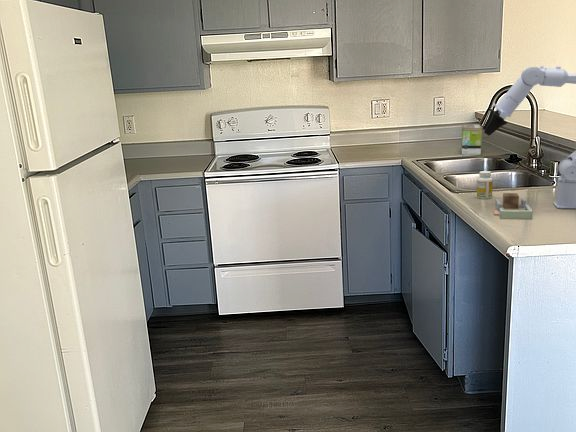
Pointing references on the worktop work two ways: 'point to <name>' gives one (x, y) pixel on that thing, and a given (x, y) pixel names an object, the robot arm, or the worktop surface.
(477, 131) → the tea box
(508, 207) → the walnut block
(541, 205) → the worktop surface
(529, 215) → the channel
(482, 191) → the supplement bottle
